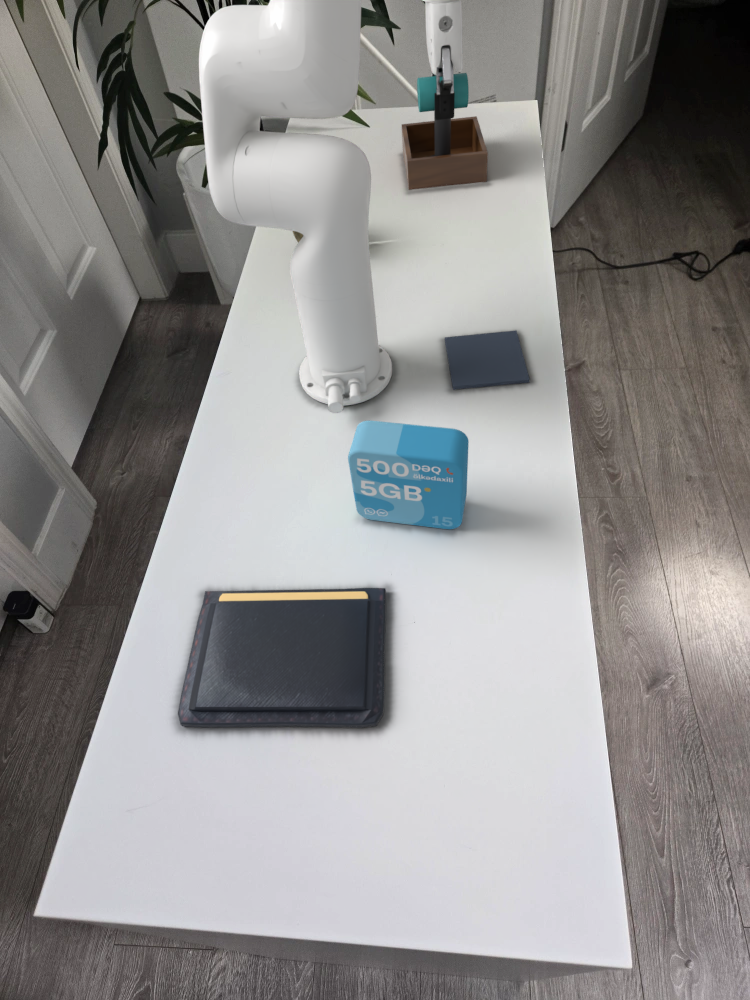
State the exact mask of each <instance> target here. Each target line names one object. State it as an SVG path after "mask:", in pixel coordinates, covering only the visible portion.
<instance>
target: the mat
mask: <svg viewBox="0 0 750 1000" xmlns="http://www.w3.org/2000/svg"><path fill="white" fill-rule="evenodd" d="M444 344H445V350H446V357H447V362H448V368H449V374H450V380H451V385H452V390H453V391H454V390H464V389H475V388H476V389H477V388H487V387H497V386H505V385H508V386H509V385H517V384H518V385H519V384H528V383H530V380H531V379H530V375H529V371H528V368H527V364H526V360H525V357H524V353H523V350H522V346H521V342H520V339H519V335H518V331H517V330H516V329H515V330H505V331H496V332H495V331H494V332H485V333H476V334H475V333H474V334H466V335H454V336H445V337H444Z"/></svg>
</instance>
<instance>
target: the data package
mask: <svg viewBox="0 0 750 1000" xmlns="http://www.w3.org/2000/svg"><path fill="white" fill-rule="evenodd" d="M347 461H348V462H347V463H348V468H349V474H350V479H351V486H352V490H353V497H354V503H355V509H356V512H357V514H358V515H359V516H361V517H362V518H364V519H367V520H370V521H377V522H388V523H394V524H402V525H410V526H416V527H417V526H418V527H419V526H420V527H427V528H434V529H442V530H454V529H457V528H460V526H461V525H462V523H463V517H464V511H465V506H466V499H467V493H468V469H469V467H468V465H469V437H468V436H467V434H466V433H465V432H463V430H460V429H458V428H453V427H441V426H433V425H420V424H411V423H403V422H402V423H401V422H400V423H399V422H392V421H391V422H390V421H381V420H371V419H370V420H363V421H360V422H359V423H358V424H357V425H356V429H355V432H354V434H353V439H352V441H351V445H350V448H349V452H348V455H347Z"/></svg>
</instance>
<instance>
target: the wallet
mask: <svg viewBox="0 0 750 1000" xmlns="http://www.w3.org/2000/svg"><path fill="white" fill-rule="evenodd" d="M386 589H387V588H386V587H355V588H354V587H352V588H320V589H319V588H318V589H317V588H316V589H315V588H314V589H313V588H312V589H260V590H259V589H258V590H257V589H256V590H255V589H254V590H205V591H204V595H203V601H202V605H201V608H200V611H199V614H198V618H197V621H196V627H195V631H194V635H193V640H192V644H191V648H190V653H189V657H188V662H187V667H186V671H185V675H184V680H183V684H182V689H181V694H180V699H179V704H178V709H177V716H178V720H179V725H180V726H181V727H187V728H188V727H190V728H251V727H253V728H255V727H257V728H258V727H261V728H262V727H306V728H308V727H311V728H318V727H319V728H352V729H353V728H355V729H360V728H369V727H370V728H371V727H376V726H378V724H379V722H380V721H381V719H382V718H383V716H384V710H385V708H384V707H385V647H386V620H387V619H386V616H387V613H386V612H387V611H386V608H387V607H386V605H387V604H386V601H387V599H386V597H387V595H386V594H387V590H386Z"/></svg>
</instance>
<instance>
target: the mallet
mask: <svg viewBox="0 0 750 1000" xmlns="http://www.w3.org/2000/svg"><path fill="white" fill-rule="evenodd" d="M442 78H443V77H440V82H441V80H442ZM453 78H454V92H455V97H454V110H455V109H457V110H458V109H465V108H468V106H469V96H470V95H469V91H470V90H469V88H470V87H469V77H468V73H467V72H461V73H454V74H453ZM416 92H417V93H416V94H417V106H418V113H426V112H433V116H434V117H433V118H434V119H433V121H434V132H435V154H434V155H432V156H442V155H451V119H452V118H451V119H442V120H436V119H435V95H434V93H436V76H432V75H430V76H420V77H417V79H416ZM432 156H430V157H432Z"/></svg>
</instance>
